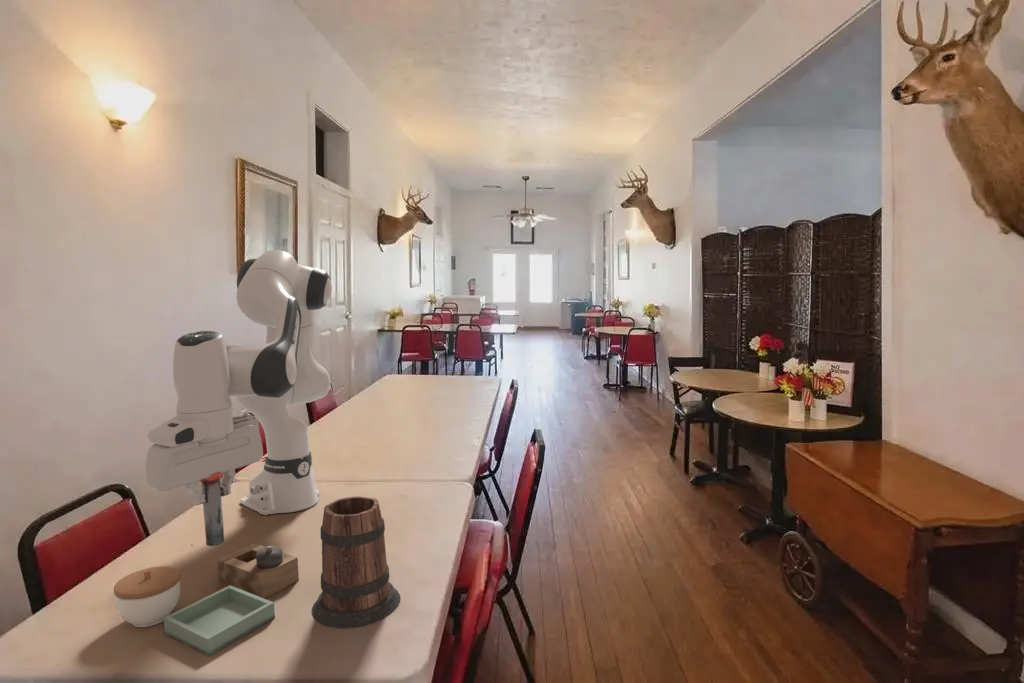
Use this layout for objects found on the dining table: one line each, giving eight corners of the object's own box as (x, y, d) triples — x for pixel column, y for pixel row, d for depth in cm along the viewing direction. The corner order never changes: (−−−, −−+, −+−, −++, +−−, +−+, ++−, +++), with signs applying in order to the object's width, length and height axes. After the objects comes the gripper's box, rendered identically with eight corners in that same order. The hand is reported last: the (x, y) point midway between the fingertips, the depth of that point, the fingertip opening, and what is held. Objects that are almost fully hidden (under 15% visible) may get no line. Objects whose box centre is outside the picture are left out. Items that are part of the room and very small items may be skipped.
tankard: (409, 615, 114) (405, 512, 112) (315, 637, 108) (309, 529, 106) (384, 562, 136) (380, 475, 134) (304, 578, 129) (299, 486, 127)
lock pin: (198, 544, 110) (192, 473, 108) (218, 535, 113) (213, 466, 112) (211, 549, 108) (206, 476, 106) (232, 540, 111) (227, 470, 110)
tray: (164, 633, 110) (163, 617, 110) (231, 599, 121) (230, 585, 121) (209, 655, 103) (207, 639, 103) (274, 617, 114) (273, 602, 114)
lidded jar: (136, 604, 120) (132, 559, 119) (193, 601, 121) (189, 556, 120) (104, 636, 109) (99, 587, 108) (167, 632, 110) (162, 583, 109)
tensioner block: (218, 582, 128) (215, 544, 127) (256, 564, 136) (253, 528, 135) (262, 599, 121) (259, 559, 120) (298, 580, 128) (296, 541, 127)
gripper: (246, 410, 118) (251, 479, 120) (137, 435, 101) (144, 515, 103) (267, 413, 115) (272, 484, 117) (158, 439, 98) (166, 522, 99)
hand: (211, 499), depth 109 cm, fingers closed on lock pin, 3 cm apart
